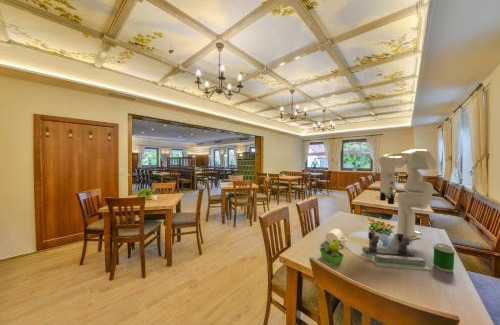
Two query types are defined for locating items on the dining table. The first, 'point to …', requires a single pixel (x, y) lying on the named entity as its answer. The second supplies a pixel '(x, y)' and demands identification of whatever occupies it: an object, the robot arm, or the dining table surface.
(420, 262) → the rail
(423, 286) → the dining table surface
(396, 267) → the mat
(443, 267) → the soda can
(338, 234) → the mug
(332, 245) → the fruit basket
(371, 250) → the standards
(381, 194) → the robot arm
